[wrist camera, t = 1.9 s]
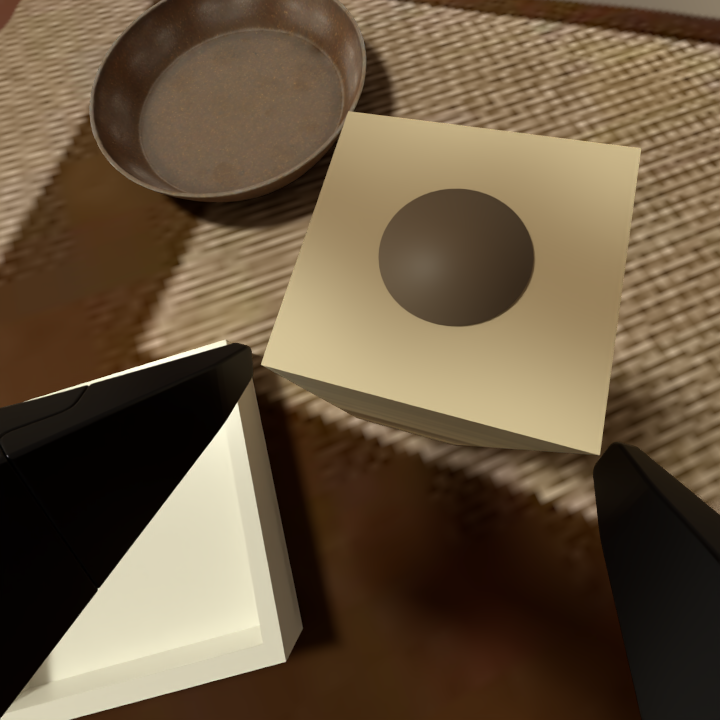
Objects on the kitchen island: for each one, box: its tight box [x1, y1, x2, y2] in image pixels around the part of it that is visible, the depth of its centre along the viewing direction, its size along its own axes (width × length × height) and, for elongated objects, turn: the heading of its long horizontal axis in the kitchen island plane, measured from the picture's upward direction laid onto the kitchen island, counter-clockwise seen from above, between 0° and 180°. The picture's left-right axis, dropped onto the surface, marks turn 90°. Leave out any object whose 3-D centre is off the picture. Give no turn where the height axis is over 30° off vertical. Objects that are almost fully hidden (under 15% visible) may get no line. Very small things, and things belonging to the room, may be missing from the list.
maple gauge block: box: [261, 111, 641, 455], centre depth 12 cm, size 5×5×13 cm
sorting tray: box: [0, 340, 303, 720], centre depth 17 cm, size 14×14×2 cm
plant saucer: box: [90, 0, 367, 202], centre depth 22 cm, size 18×18×3 cm
